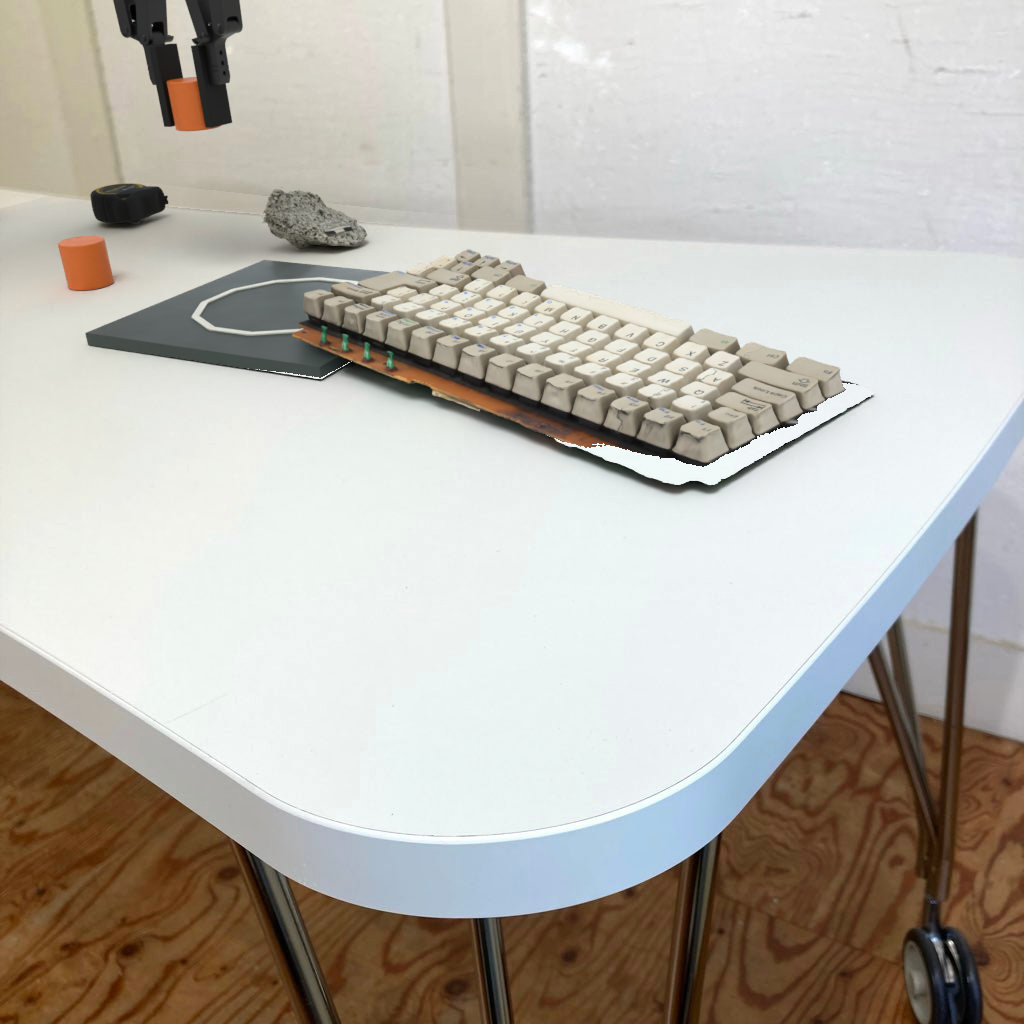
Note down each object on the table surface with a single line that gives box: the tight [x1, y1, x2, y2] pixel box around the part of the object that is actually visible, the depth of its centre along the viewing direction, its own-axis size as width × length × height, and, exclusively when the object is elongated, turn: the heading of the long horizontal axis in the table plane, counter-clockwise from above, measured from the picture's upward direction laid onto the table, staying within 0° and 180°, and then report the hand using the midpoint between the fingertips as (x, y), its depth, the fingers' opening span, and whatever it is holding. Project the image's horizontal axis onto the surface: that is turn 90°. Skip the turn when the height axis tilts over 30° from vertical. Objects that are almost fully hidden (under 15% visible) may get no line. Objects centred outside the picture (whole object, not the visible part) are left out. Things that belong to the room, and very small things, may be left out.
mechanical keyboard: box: [292, 248, 859, 467], centre depth 72 cm, size 38×19×3 cm, turn 46°
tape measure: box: [90, 183, 169, 225], centre depth 119 cm, size 7×7×4 cm
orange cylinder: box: [57, 235, 115, 291], centre depth 97 cm, size 4×4×4 cm
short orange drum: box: [167, 76, 223, 132], centre depth 93 cm, size 4×4×4 cm
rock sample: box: [261, 186, 368, 249], centre depth 106 cm, size 10×8×9 cm
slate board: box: [85, 259, 392, 378], centre depth 86 cm, size 22×22×1 cm
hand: (198, 124), depth 94 cm, fingers closed on short orange drum, 4 cm apart
